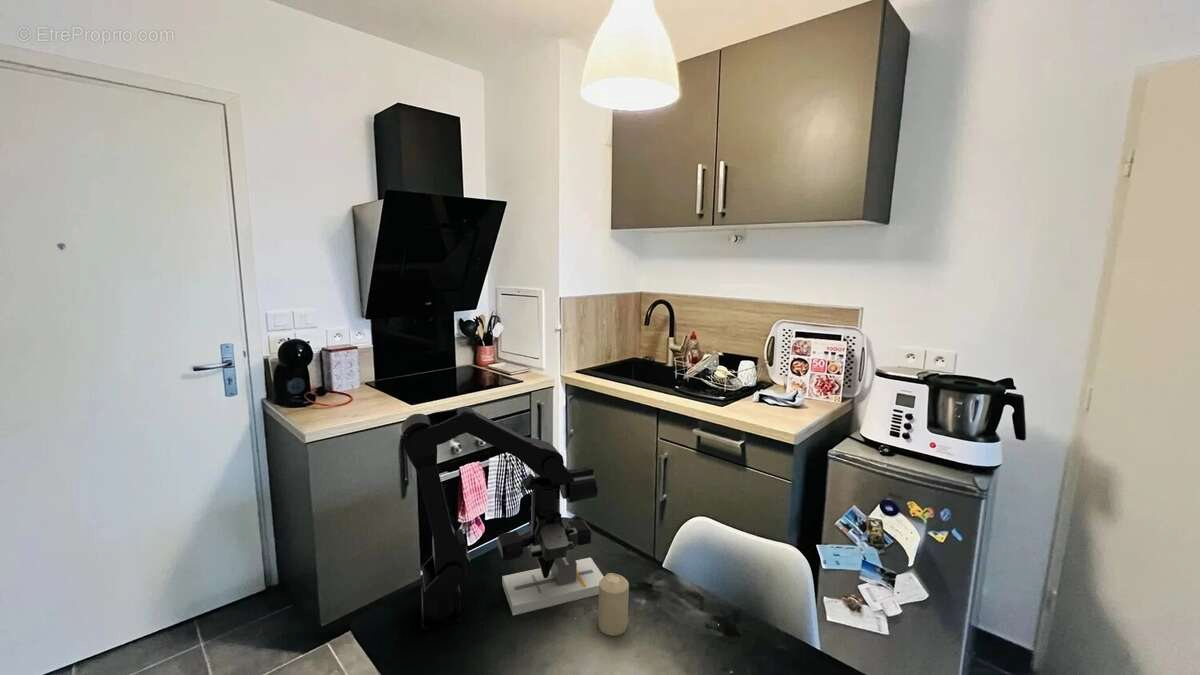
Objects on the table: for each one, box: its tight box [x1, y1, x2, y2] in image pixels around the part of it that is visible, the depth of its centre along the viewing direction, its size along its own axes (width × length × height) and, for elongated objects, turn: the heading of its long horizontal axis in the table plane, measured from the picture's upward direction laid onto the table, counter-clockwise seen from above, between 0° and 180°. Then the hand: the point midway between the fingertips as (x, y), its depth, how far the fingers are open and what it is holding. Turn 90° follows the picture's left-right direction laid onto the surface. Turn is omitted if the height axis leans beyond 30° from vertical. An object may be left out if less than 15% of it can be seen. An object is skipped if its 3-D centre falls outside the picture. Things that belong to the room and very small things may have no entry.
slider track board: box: [501, 557, 605, 616], centre depth 103 cm, size 20×10×2 cm, turn 113°
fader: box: [551, 550, 577, 585], centre depth 103 cm, size 4×5×4 cm
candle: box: [597, 572, 630, 637], centre depth 92 cm, size 6×6×10 cm
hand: (545, 576), depth 102 cm, fingers closed
